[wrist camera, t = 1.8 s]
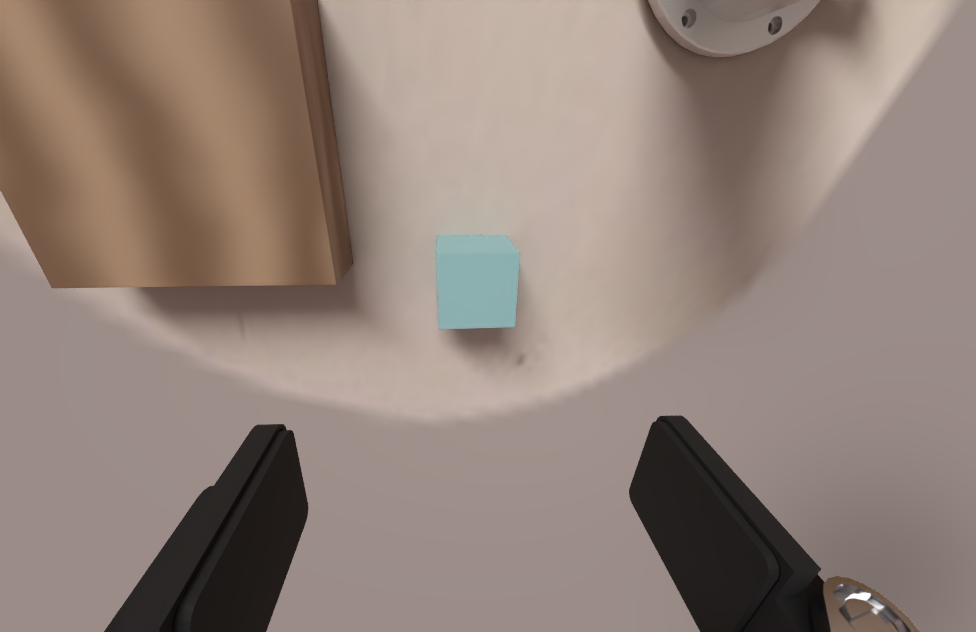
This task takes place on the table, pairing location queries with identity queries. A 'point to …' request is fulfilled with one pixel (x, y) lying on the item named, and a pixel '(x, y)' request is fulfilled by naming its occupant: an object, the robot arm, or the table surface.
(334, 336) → the table surface
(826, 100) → the table surface
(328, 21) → the table surface
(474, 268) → the teal cube
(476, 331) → the table surface
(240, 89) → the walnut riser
